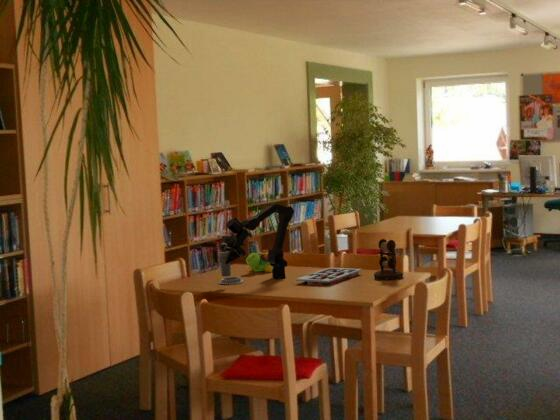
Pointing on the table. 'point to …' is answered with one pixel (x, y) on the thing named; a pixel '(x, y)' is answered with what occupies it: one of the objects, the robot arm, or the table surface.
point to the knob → (225, 267)
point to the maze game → (329, 276)
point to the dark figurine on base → (387, 260)
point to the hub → (231, 280)
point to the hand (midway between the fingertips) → (223, 263)
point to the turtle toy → (259, 262)
